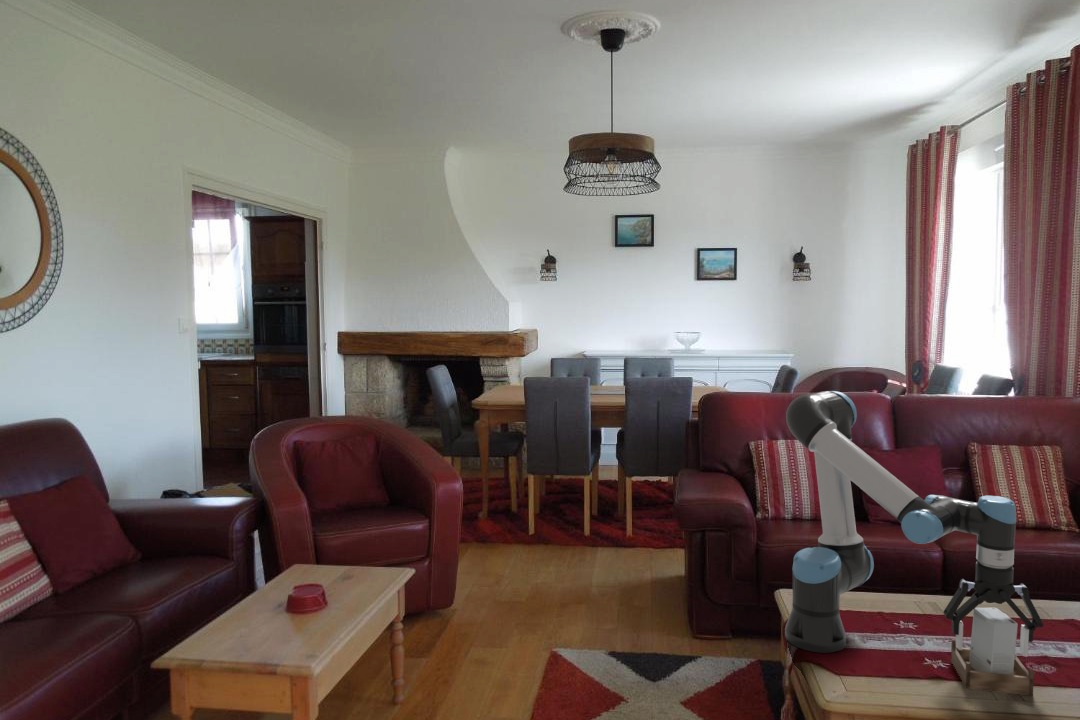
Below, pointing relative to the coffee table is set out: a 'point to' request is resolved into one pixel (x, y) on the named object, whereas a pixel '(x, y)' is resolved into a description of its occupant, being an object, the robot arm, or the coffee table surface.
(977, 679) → the box
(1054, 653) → the coffee table surface
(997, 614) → the skincare box
